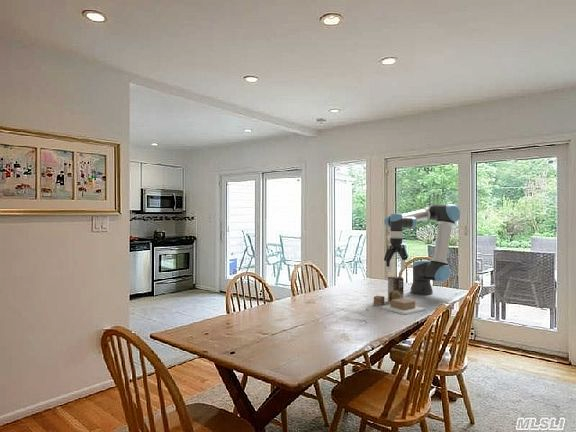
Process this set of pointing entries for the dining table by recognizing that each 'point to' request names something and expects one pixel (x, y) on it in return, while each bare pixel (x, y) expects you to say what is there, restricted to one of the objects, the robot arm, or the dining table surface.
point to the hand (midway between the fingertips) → (395, 270)
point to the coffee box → (395, 288)
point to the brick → (379, 300)
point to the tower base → (417, 309)
